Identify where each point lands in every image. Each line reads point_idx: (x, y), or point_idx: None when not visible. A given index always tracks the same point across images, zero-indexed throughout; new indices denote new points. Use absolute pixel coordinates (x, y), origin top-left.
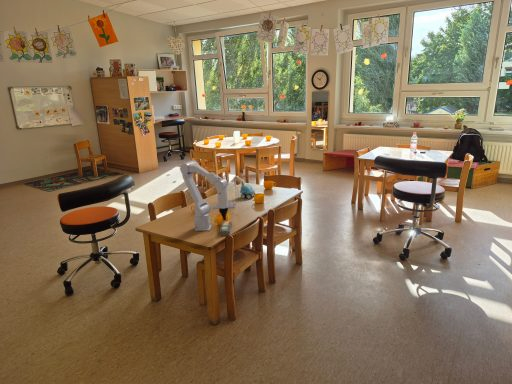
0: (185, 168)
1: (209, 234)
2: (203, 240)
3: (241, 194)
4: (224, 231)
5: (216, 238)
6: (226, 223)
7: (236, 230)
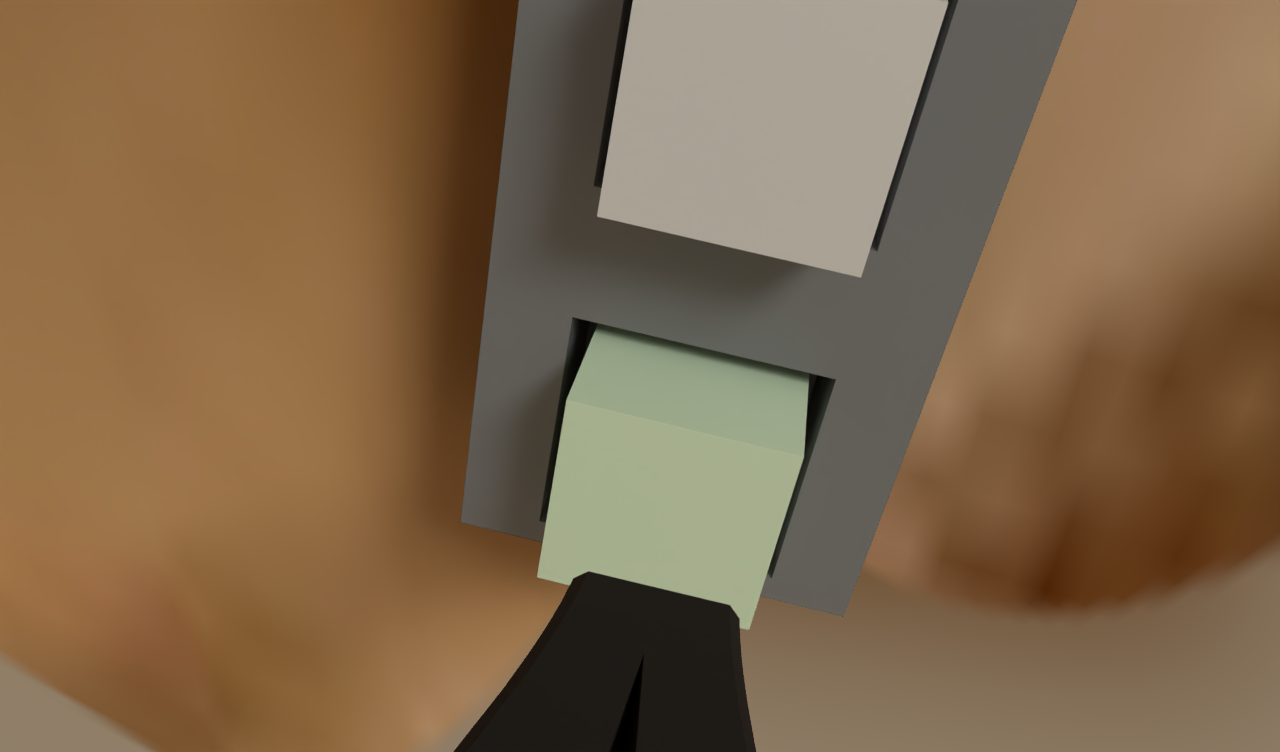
0: None
1: (133, 246)
2: (62, 580)
3: None
4: None
5: (412, 588)
6: (824, 9)
7: (1237, 199)
